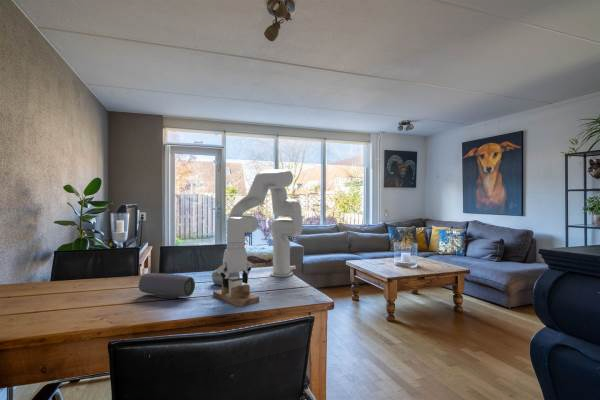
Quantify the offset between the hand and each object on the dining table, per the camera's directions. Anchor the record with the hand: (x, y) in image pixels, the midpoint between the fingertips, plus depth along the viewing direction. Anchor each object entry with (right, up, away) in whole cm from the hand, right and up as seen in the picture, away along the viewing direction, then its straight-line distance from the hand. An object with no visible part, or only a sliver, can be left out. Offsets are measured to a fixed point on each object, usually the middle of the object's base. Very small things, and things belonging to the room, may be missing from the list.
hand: (235, 285), depth 137 cm
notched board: (0, -6, 0) cm, 6 cm away
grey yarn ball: (-9, -6, +22) cm, 25 cm away
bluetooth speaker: (-30, -6, +2) cm, 31 cm away
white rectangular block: (0, -4, 0) cm, 4 cm away
